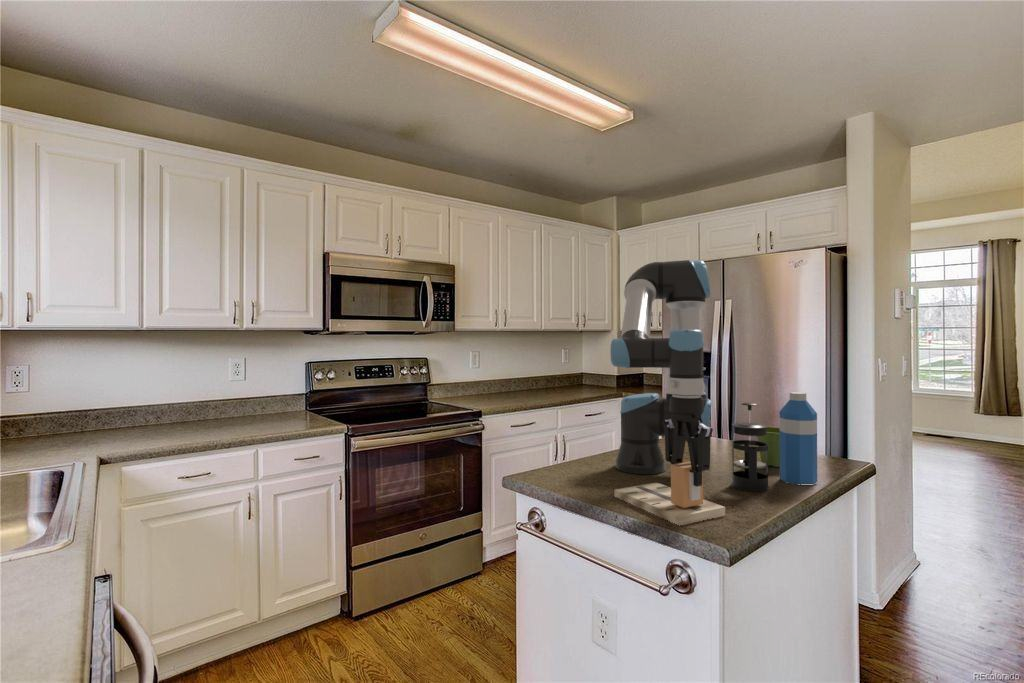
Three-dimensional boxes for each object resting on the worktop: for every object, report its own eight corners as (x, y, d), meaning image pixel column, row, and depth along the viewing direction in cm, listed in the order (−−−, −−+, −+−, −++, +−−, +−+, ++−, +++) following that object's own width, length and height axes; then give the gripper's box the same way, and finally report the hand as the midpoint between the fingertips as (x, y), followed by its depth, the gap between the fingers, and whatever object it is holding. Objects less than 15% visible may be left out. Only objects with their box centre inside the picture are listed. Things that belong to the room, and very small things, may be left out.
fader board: (614, 497, 134) (614, 489, 134) (656, 489, 140) (656, 482, 140) (679, 525, 113) (679, 516, 113) (725, 515, 120) (725, 506, 120)
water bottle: (772, 478, 150) (771, 392, 150) (796, 475, 153) (795, 390, 153) (800, 487, 141) (800, 395, 141) (825, 483, 145) (825, 393, 144)
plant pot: (780, 471, 158) (779, 434, 158) (745, 463, 169) (745, 428, 169) (803, 466, 164) (803, 430, 164) (769, 458, 175) (768, 425, 174)
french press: (729, 480, 149) (729, 400, 149) (765, 483, 146) (765, 401, 146) (733, 492, 138) (733, 405, 137) (773, 495, 135) (772, 406, 135)
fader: (671, 503, 121) (670, 463, 121) (690, 499, 124) (690, 460, 124) (683, 508, 118) (683, 467, 118) (703, 504, 120) (703, 464, 120)
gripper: (648, 393, 127) (649, 489, 127) (702, 400, 111) (703, 509, 111) (672, 391, 130) (673, 485, 130) (727, 398, 114) (728, 504, 115)
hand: (687, 496), depth 121 cm, fingers closed on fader, 4 cm apart
